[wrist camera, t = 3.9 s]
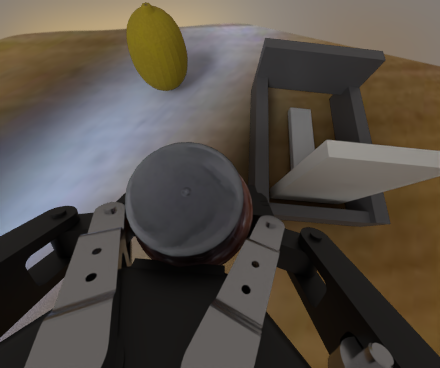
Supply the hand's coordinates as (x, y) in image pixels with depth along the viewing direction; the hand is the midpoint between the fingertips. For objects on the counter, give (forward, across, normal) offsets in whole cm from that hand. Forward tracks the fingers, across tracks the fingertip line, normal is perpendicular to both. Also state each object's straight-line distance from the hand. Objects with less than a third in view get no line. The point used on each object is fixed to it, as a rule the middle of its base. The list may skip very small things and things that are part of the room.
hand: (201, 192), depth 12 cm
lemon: (+14, +6, -6) cm, 16 cm away
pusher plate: (+8, -10, -2) cm, 13 cm away
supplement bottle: (+2, 0, +5) cm, 5 cm away
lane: (+9, -10, -2) cm, 13 cm away
